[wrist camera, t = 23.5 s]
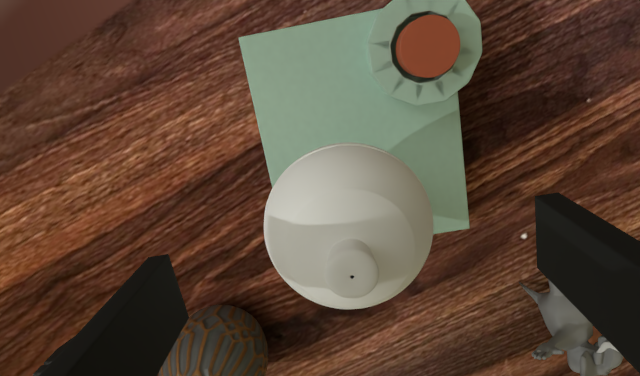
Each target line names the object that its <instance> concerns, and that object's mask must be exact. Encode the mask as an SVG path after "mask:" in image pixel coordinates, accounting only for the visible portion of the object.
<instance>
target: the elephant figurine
mask: <svg viewBox="0 0 640 376" xmlns="http://www.w3.org/2000/svg"><path fill="white" fill-rule="evenodd" d="M548 281H549V286H550V292H547V293H536V292H535V291H533V290H531V289H529V288H527V287H526V286H525V285H523V284H522V283H521V282H519V284H520V285H521V286H522V287H523V288H524V289H525V290H526V292H527V293H528V294H529V295H530V296H531V297H532V298H533V299H534V300H535V302H536V303H537V304H538V305H539V309H540V311H541V314H542V316H543V319H544V322H545V324H546V326H547V328H548V330H549V331H550V332H551V334H552V336H553V337H552V338H551V339H550V340H549V341H548V342H547V343H542V344H541V345H540V346H538V347H537V349H536V350H535V351H534V352H533V353H532V356H533V357H534V358H535V359H537V358H538V360H541V358H543V359H544V360H546V358H547V357H550V356H551V355H552V354H564V352H563V351H562V350H561V349H563V350H565V351H567V358H568V364H569V366H570V368H571V369H572V370H573V371H574V372H577V373H580V376H596V375H607V374H609V373H610V372H611V369H613V368H615V367H617V366H619V365H620V364H621V362H622V359H623V355H622V354H621V353H620V352H619V351H618V350H617V349H616V348H615V347H614V346H613V345H612V344H611V343H610V342H609V341H608V340H607V339H606V338H605V337H604V336H603V335H602V336H600V337H599V338H598V342H596V343H595V344H594V346H593V345H592V344H590V343H589V342H588V339H589V338H591V336H592V335H593V329H592V326H593V325H592V324H591V323H590V322H589V321H588V319H587V318H586V317H585V316H584V315H583V314H582V313H581V312H580V311H579V310H578V309H577V308H576V307H575V306H574V305H573V304H572V303H571V302H570V301H569V300H568V299H567V298H566V297H565V296H564V295H563V294H562V293H561V292H560V291H559V290H558V289H557V288H556V287H555V286H554V284H553V283H552V282H551V281H550V280H549V279H548Z"/></svg>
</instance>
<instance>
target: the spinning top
mask: <svg viewBox="0 0 640 376" xmlns="http://www.w3.org/2000/svg"><path fill="white" fill-rule="evenodd" d="M264 238H265V243H266V247H267V250H268V253H269V256H270V258H271V261H272V263H273V265H274V266H275V268H276V270H277V271H278V273H279V274H280V275H281V277H282V278H283V279H284V280H285V282H286V283H287V284H288V285H289V286H290V287H292V288H293V289H294V290H295V291H296V292H298V293H299V294H301V295H302V296H304V297H305V298H307V299H309V300H311V301H313V302H315V303H318V304H321V305H324V306H327V307H332V308H337V309H360V308H366V307H370V306H374V305H377V304H380V303H382V302H384V301H387V300H389V299H390V298H392V297H394V296H395V295H397V294H398V293H400V292H401V291H402V290H404V289H405V288H406V287H407V286H408V285H409V284H410V283H411V282H412V281H413V280H414V278H415V277H416V276H417V275H418V273H419V272H420V270H421V269H422V267H423V265H424V263H425V261H426V259H427V257H428V254H429V251H430V248H431V244H432V238H433V214H432V209H431V205H430V201H429V198H428V195H427V193H426V191H425V188H424V187H423V185H422V183H421V182H420V180H419V179H418V177H417V176H416V175H415V173H414V172H413V171H412V170H411V169H410V168H409V167H408V166H407V165H406V164H405V163H404V162H402V161H401V160H400V159H398V158H397V157H395V156H394V155H392V154H390V153H389V152H387V151H385V150H382V149H380V148H377V147H375V146H371V145H367V144H362V143H354V142H342V143H334V144H329V145H325V146H322V147H319V148H316V149H314V150H312V151H310V152H308V153H306V154H304V155H303V156H301V157H300V158H298V159H297V160H296V161H295V162H293V163H292V164H291V165H290V166H289V167H288V168H287V169H286V170H285V171H284V172H283V173H282V174H281V176H280V177H279V178H278V180H277V181H276V183H275V185H274V186H273V188H272V190H271V193H270V195H269V198H268V200H267V204H266V208H265V214H264Z"/></svg>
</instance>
